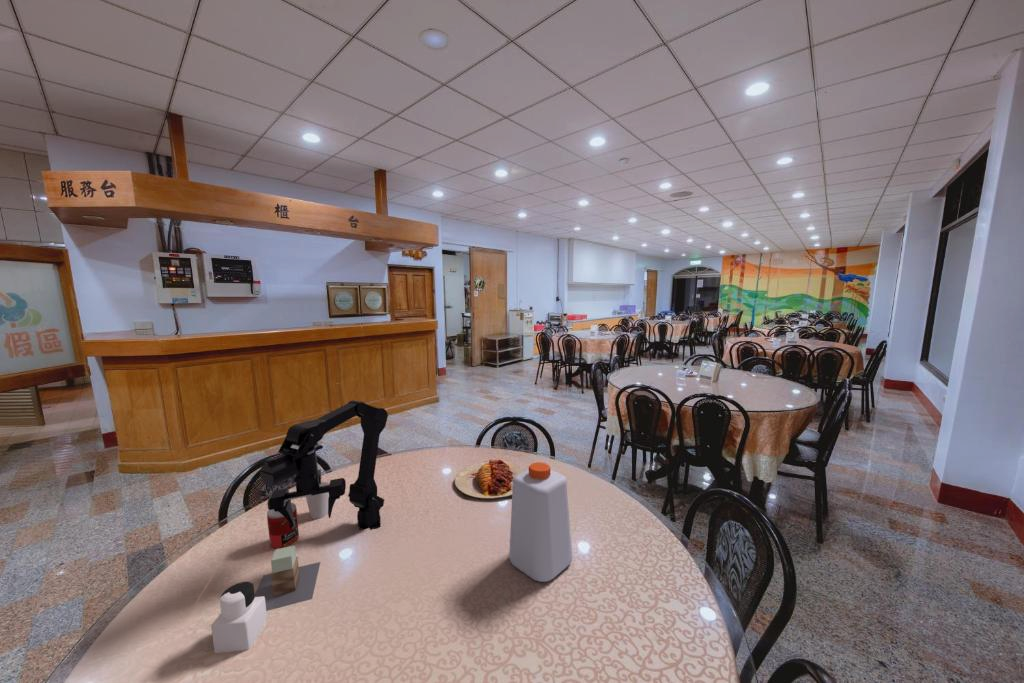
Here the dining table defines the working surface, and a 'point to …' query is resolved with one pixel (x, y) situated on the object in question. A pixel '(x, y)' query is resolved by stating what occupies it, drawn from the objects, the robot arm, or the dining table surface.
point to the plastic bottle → (540, 523)
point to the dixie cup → (318, 504)
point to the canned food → (282, 529)
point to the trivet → (301, 594)
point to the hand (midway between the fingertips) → (311, 520)
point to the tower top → (285, 575)
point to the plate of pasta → (489, 478)
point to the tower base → (286, 586)
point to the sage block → (283, 559)
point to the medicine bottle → (238, 619)
